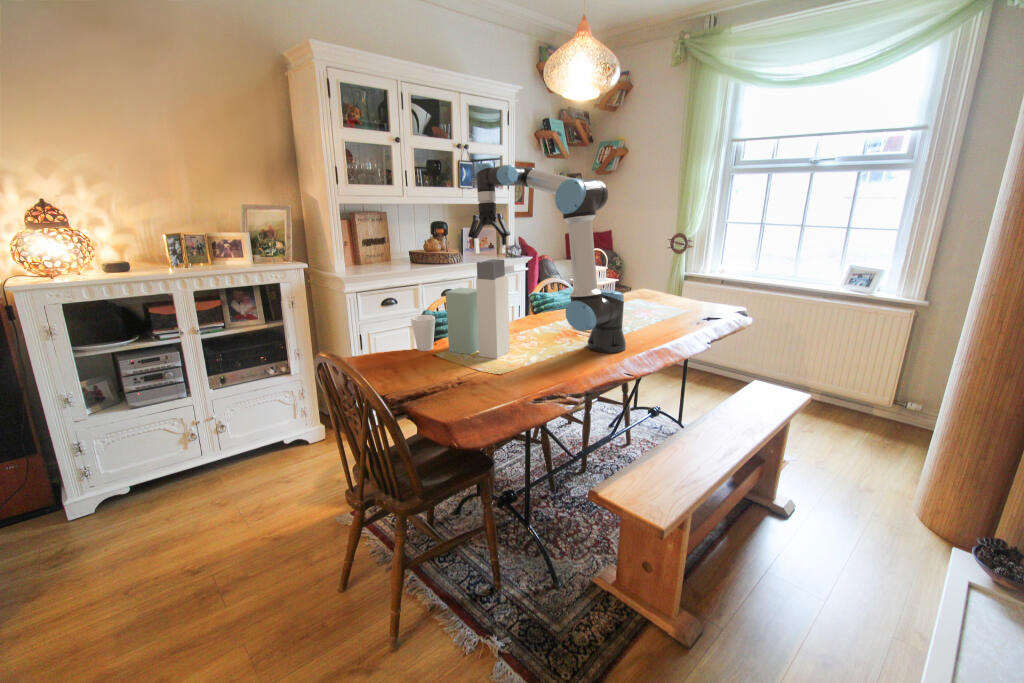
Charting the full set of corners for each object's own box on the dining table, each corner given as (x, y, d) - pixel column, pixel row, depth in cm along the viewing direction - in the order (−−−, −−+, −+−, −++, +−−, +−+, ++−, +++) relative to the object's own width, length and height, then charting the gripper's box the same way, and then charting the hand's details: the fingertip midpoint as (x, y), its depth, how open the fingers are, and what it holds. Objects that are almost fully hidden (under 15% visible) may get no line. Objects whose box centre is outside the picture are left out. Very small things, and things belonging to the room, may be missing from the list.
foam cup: (412, 346, 195) (409, 315, 191) (434, 344, 198) (432, 314, 194) (415, 353, 186) (412, 321, 182) (438, 350, 189) (436, 319, 185)
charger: (516, 271, 187) (516, 256, 185) (494, 278, 172) (493, 262, 170) (505, 271, 189) (505, 256, 187) (482, 278, 174) (481, 261, 172)
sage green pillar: (483, 347, 192) (481, 289, 185) (470, 354, 183) (467, 294, 176) (462, 344, 196) (460, 287, 189) (449, 351, 188) (445, 292, 181)
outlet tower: (509, 351, 187) (507, 259, 176) (497, 359, 178) (494, 263, 168) (491, 348, 190) (489, 259, 180) (479, 356, 182) (475, 262, 171)
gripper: (516, 200, 196) (519, 252, 201) (468, 204, 209) (471, 253, 214) (507, 200, 190) (509, 253, 195) (458, 204, 203) (461, 254, 208)
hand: (489, 253), depth 205 cm, fingers open, 13 cm apart
